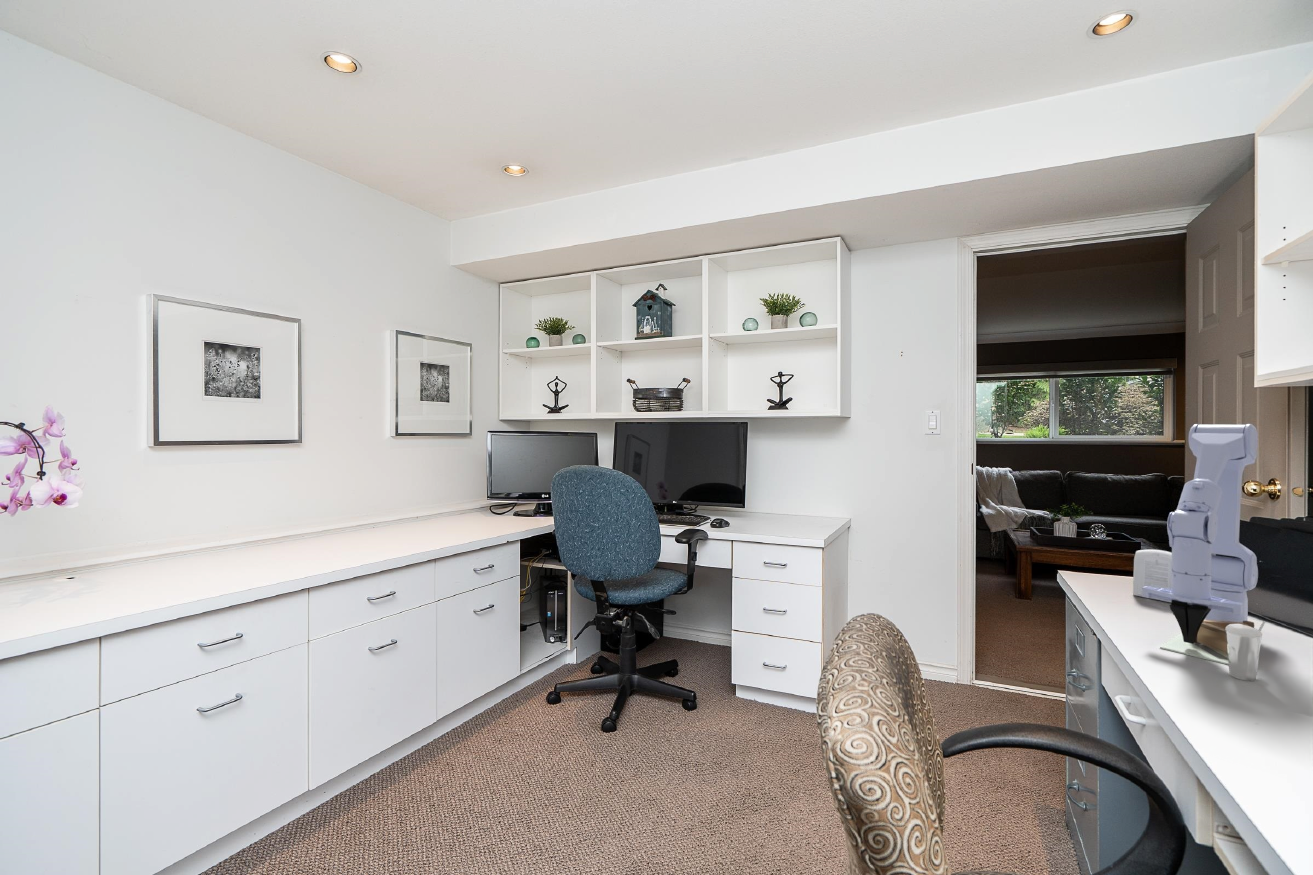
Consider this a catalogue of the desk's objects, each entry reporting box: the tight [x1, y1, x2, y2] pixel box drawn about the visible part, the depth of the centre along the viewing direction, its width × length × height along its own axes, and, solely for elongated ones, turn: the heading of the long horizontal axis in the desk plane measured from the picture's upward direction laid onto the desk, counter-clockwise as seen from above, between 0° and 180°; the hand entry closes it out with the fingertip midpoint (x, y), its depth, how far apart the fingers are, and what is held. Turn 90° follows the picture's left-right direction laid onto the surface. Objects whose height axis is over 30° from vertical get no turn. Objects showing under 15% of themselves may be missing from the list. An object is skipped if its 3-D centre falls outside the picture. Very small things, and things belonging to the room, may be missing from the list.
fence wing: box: [1197, 622, 1228, 654], centre depth 114 cm, size 8×1×4 cm, turn 3°
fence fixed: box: [1195, 620, 1255, 643], centre depth 118 cm, size 2×10×5 cm, turn 75°
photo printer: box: [1132, 548, 1172, 603], centre depth 149 cm, size 10×4×12 cm, turn 35°
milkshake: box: [1225, 620, 1266, 682], centre depth 103 cm, size 4×5×10 cm
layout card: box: [1159, 632, 1229, 666], centre depth 117 cm, size 16×11×1 cm
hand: (1189, 641), depth 116 cm, fingers closed
